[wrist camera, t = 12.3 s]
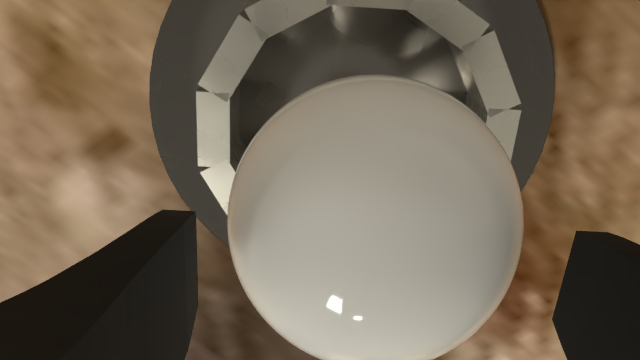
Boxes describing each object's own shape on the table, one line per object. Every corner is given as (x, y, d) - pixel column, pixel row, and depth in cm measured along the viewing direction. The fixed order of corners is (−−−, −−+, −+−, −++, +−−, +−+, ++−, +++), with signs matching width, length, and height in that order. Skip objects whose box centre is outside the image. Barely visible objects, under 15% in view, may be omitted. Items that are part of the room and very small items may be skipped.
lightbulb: (390, 222, 21) (458, 478, 11) (233, 158, 20) (153, 379, 10) (476, 69, 19) (655, 221, 9) (304, -11, 18) (290, 59, 8)
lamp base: (508, 287, 23) (532, 332, 20) (161, 271, 23) (141, 314, 20) (596, -94, 17) (645, -98, 15) (138, -126, 17) (107, -136, 14)
